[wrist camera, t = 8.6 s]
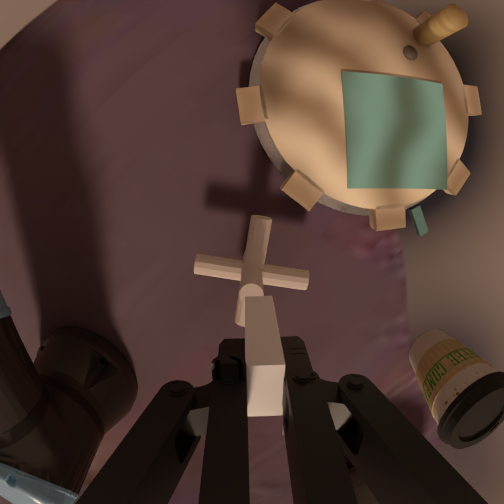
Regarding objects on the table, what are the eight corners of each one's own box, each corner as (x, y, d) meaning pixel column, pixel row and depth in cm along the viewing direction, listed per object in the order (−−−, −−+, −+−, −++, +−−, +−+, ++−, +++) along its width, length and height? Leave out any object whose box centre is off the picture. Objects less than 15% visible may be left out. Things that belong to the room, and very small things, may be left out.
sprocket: (385, 274, 33) (422, 309, 24) (183, 118, 29) (156, 103, 20) (499, 105, 27) (549, 101, 18) (334, -45, 23) (354, -89, 14)
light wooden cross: (308, 216, 32) (331, 240, 23) (290, 305, 35) (302, 357, 26) (210, 200, 32) (191, 218, 23) (199, 292, 35) (180, 340, 25)
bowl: (401, 480, 46) (419, 527, 34) (314, 506, 48) (322, 556, 36) (403, 432, 42) (430, 489, 30) (296, 464, 43) (304, 527, 31)
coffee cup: (433, 302, 35) (502, 368, 21) (468, 336, 37) (527, 397, 22) (382, 361, 37) (427, 443, 23) (422, 387, 39) (466, 458, 25)
